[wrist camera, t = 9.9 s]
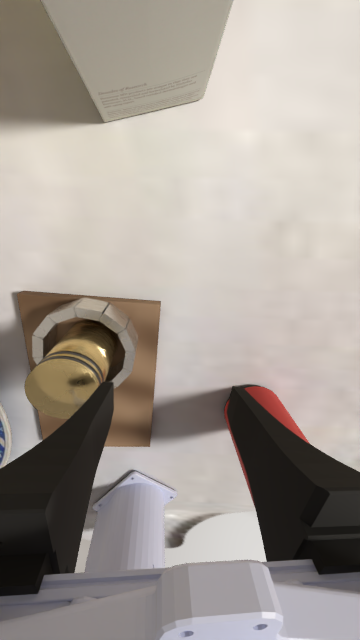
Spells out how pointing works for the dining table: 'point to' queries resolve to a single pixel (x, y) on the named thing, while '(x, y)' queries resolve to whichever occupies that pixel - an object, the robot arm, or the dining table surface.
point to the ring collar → (95, 311)
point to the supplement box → (141, 49)
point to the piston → (72, 369)
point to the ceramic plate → (4, 437)
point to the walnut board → (137, 388)
